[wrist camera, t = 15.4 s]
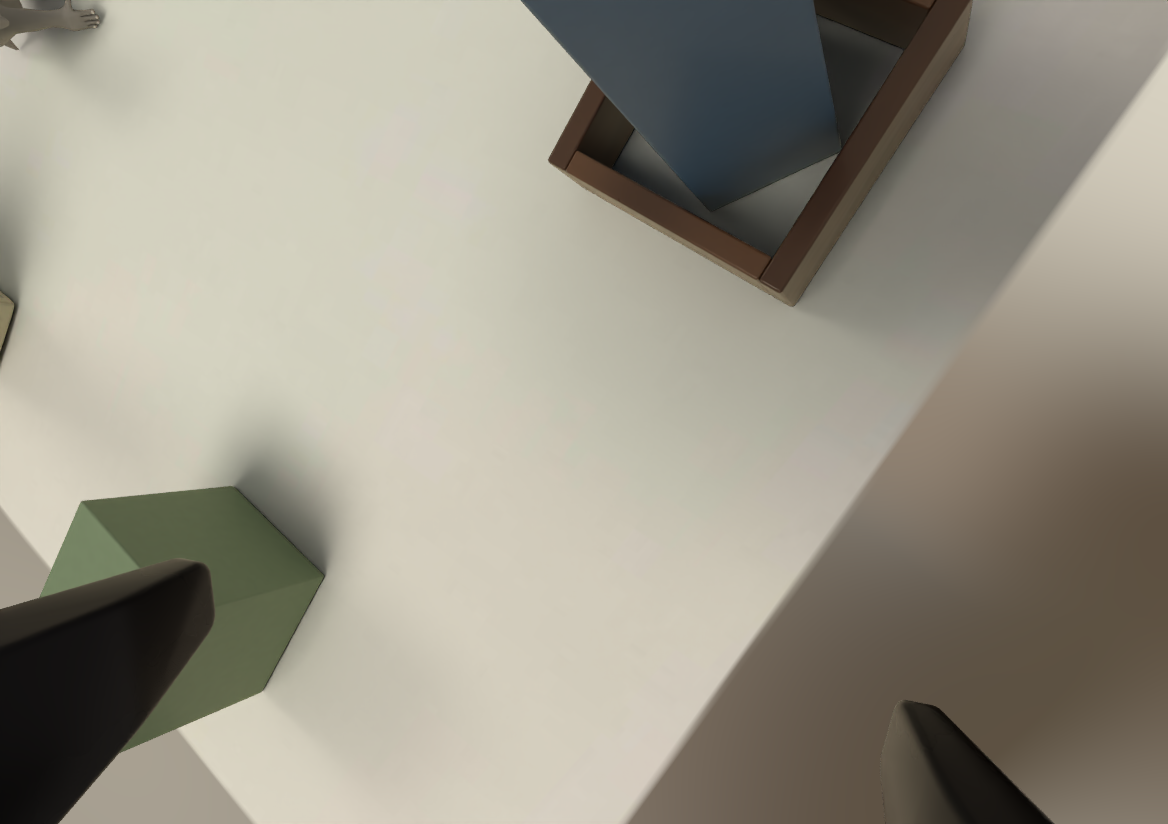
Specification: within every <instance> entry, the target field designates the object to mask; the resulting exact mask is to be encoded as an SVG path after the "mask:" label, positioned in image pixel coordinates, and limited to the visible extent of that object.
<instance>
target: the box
mask: <svg viewBox="0 0 1168 824" xmlns="http://www.w3.org/2000/svg"><path fill="white" fill-rule="evenodd" d="M13 309H14V303H13V302H12V301H11V300H10V299H9V298H8V297H7V296H5V295H4V294H3V293H2V292H1V291H0V351H1V348H2V344H3V341H4V338H5V335H6V332H7V329H8V326H9V324H10V321H11V318H12V314H13Z"/></svg>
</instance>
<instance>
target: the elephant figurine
mask: <svg viewBox="0 0 1168 824" xmlns="http://www.w3.org/2000/svg"><path fill="white" fill-rule="evenodd" d="M88 14H94V15H88ZM93 19H99V16H98V15H97V14H95V11H94V10H93V9H90V10H74V9H72V6H71V0H65V5H64V6H63V7H62V8H59V9H56V10H49V11H42V10H32V9H24V8H23V7H22V4H21V2H20V0H0V47H1V46H4V45H5V46H7V47H10V48H12V49H15V50H19V49H18V48H17V47H16V46H15V45H14V43H13V42H12V41H11V40H10V39H11V38H12V37H13V36H15V34H18V33H24V32H34V31H39V30H43V29H47V28H52V27H58V28H65V29H69V30H72V31H79V30H83V29H88V28H97V24H100V21H99V20H93Z"/></svg>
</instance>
